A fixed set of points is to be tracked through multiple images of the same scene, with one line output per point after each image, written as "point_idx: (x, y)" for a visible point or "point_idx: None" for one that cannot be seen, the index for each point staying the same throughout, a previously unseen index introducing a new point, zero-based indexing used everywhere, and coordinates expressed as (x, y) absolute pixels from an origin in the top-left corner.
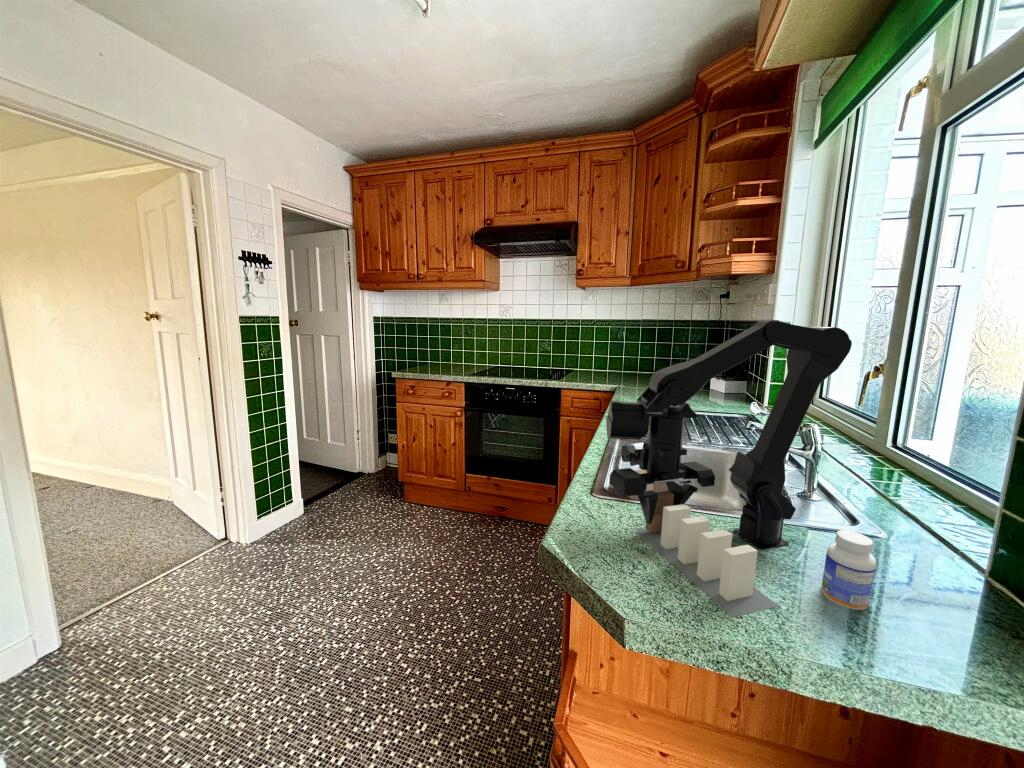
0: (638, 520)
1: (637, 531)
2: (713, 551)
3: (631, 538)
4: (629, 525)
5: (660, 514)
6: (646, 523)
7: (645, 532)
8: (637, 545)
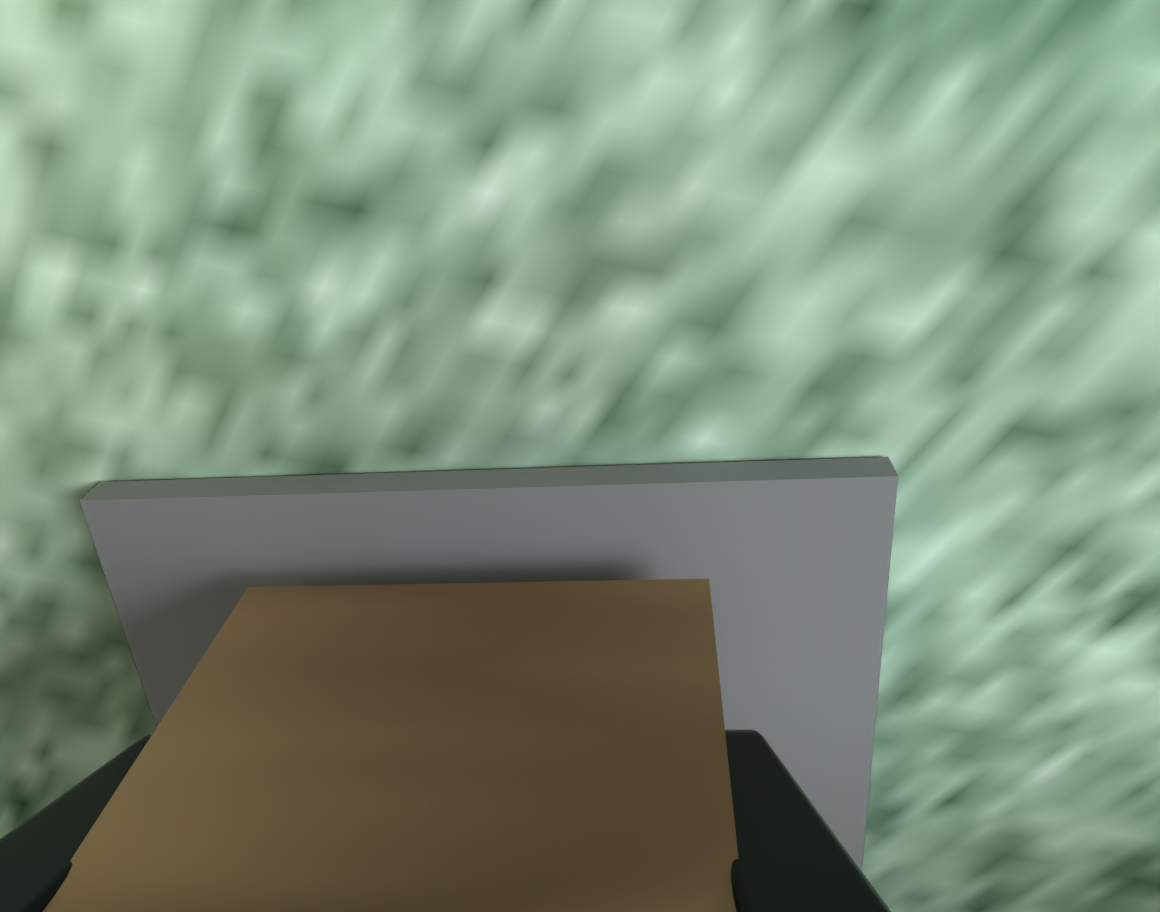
0: (367, 26)
1: (121, 529)
2: None
3: (2, 600)
4: (82, 204)
5: None
6: (207, 670)
7: (256, 583)
8: (44, 756)
